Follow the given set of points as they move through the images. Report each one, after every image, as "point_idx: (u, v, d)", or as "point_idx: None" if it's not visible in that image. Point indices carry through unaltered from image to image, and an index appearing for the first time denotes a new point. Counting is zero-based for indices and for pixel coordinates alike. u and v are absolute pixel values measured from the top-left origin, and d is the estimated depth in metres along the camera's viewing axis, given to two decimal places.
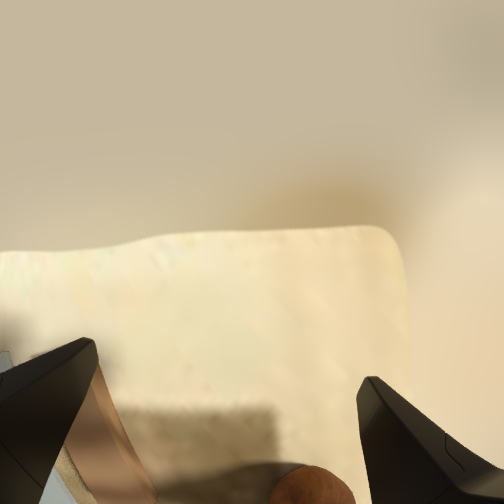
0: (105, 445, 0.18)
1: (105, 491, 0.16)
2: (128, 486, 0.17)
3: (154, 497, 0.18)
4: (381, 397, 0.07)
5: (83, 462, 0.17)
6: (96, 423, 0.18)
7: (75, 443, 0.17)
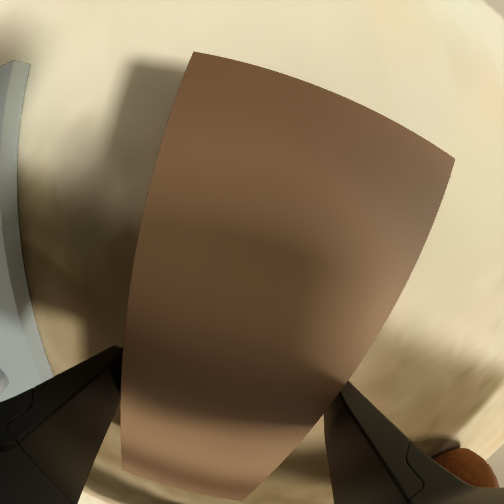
0: (276, 426, 0.08)
1: (165, 467, 0.09)
2: (237, 479, 0.09)
3: None
4: (343, 398, 0.07)
5: (156, 424, 0.08)
6: (309, 383, 0.07)
7: (171, 391, 0.07)
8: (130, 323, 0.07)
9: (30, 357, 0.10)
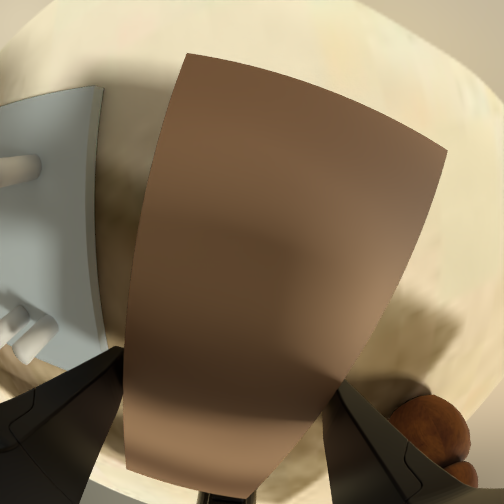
0: (277, 422, 0.08)
1: (169, 465, 0.09)
2: (240, 476, 0.09)
3: None
4: (341, 398, 0.07)
5: (158, 421, 0.08)
6: (309, 377, 0.07)
7: (173, 387, 0.07)
8: (131, 320, 0.07)
9: (90, 299, 0.16)
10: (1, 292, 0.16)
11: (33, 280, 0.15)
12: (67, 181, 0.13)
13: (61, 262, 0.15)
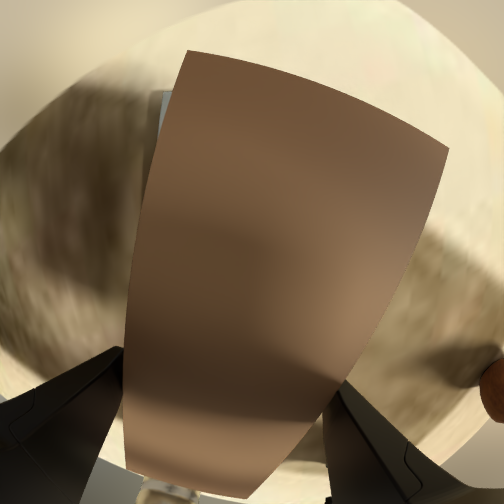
0: (278, 422, 0.08)
1: (169, 466, 0.09)
2: (241, 477, 0.09)
3: None
4: (341, 398, 0.07)
5: (158, 421, 0.08)
6: (310, 376, 0.07)
7: (173, 387, 0.07)
8: (130, 319, 0.07)
9: None
10: None
11: None
12: None
13: None
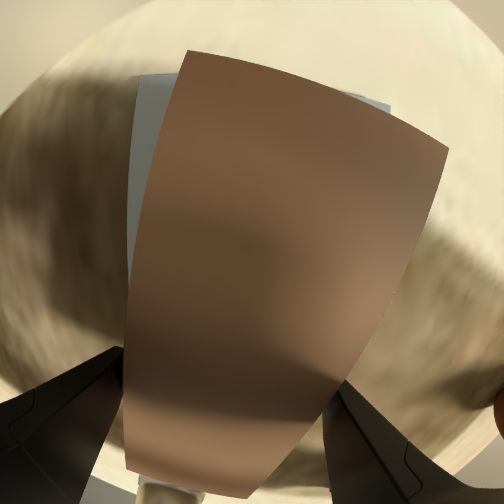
0: (278, 422, 0.08)
1: (169, 465, 0.09)
2: (241, 477, 0.09)
3: None
4: (341, 398, 0.07)
5: (158, 421, 0.08)
6: (310, 376, 0.07)
7: (173, 386, 0.07)
8: (130, 318, 0.07)
9: None
10: None
11: None
12: None
13: None
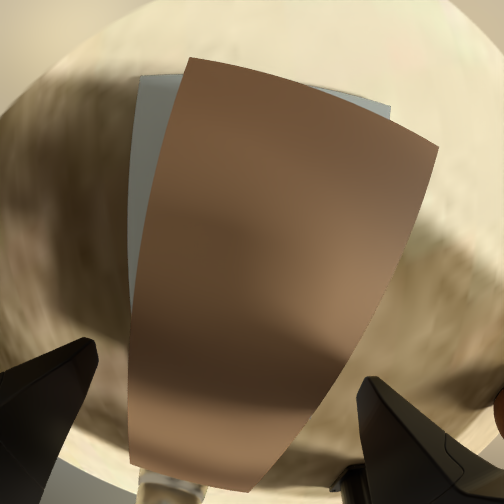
0: (279, 412, 0.08)
1: (172, 459, 0.10)
2: (243, 469, 0.10)
3: None
4: (381, 397, 0.07)
5: (162, 413, 0.08)
6: (308, 366, 0.07)
7: (177, 378, 0.08)
8: (136, 312, 0.07)
9: None
10: None
11: None
12: None
13: None
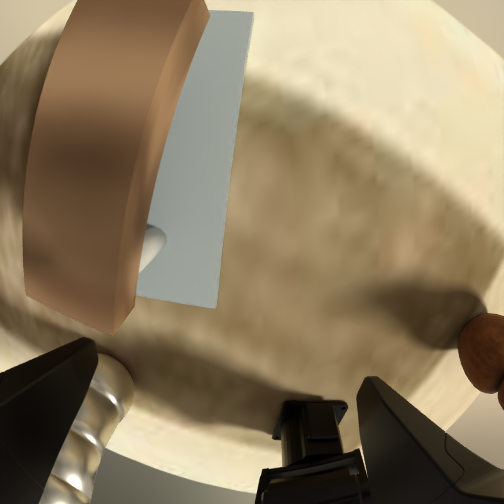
0: (106, 181, 0.10)
1: (48, 271, 0.11)
2: (96, 281, 0.12)
3: (124, 314, 0.14)
4: (381, 397, 0.07)
5: (40, 201, 0.10)
6: (120, 128, 0.09)
7: (50, 157, 0.10)
8: (38, 112, 0.09)
9: (224, 199, 0.17)
10: None
11: None
12: (218, 83, 0.15)
13: (194, 162, 0.16)
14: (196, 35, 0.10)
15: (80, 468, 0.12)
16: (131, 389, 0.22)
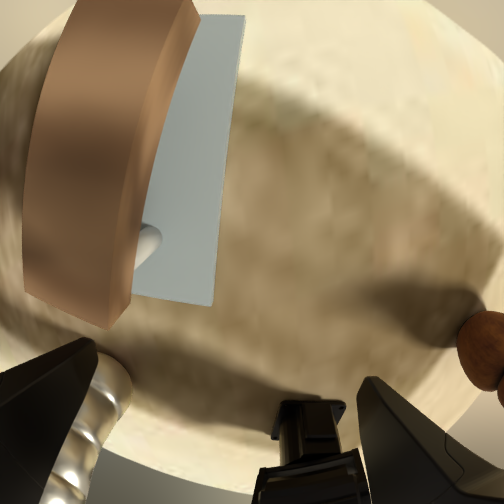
0: (101, 179, 0.10)
1: (46, 267, 0.12)
2: (91, 276, 0.12)
3: (120, 310, 0.14)
4: (381, 397, 0.07)
5: (39, 199, 0.11)
6: (114, 128, 0.10)
7: (48, 156, 0.10)
8: (37, 114, 0.09)
9: (217, 198, 0.18)
10: None
11: None
12: (211, 85, 0.15)
13: (189, 162, 0.17)
14: (187, 38, 0.10)
15: (76, 464, 0.12)
16: (129, 388, 0.22)
